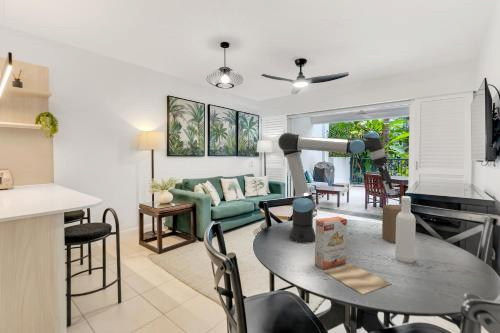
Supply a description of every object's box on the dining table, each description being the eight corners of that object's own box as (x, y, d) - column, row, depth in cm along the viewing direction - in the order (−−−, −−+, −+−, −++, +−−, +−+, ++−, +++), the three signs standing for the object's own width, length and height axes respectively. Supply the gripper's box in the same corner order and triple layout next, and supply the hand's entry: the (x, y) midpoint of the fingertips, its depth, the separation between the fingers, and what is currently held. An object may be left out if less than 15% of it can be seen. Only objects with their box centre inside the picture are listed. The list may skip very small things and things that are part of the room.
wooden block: (398, 237, 147) (399, 204, 146) (407, 243, 137) (408, 208, 136) (381, 237, 148) (382, 204, 147) (389, 243, 138) (389, 207, 137)
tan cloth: (324, 272, 104) (324, 271, 104) (351, 264, 111) (351, 263, 111) (362, 295, 87) (362, 293, 87) (391, 284, 94) (391, 283, 94)
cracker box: (324, 270, 105) (324, 222, 104) (314, 264, 111) (314, 219, 110) (346, 263, 112) (347, 218, 111) (336, 258, 117) (337, 215, 116)
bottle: (391, 257, 118) (392, 196, 117) (402, 255, 121) (403, 194, 120) (407, 264, 111) (409, 198, 109) (418, 261, 114) (420, 197, 112)
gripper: (389, 155, 128) (403, 194, 127) (382, 155, 152) (393, 188, 150) (374, 160, 131) (387, 198, 130) (369, 159, 154) (380, 191, 153)
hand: (390, 192), depth 140 cm, fingers open, 13 cm apart
